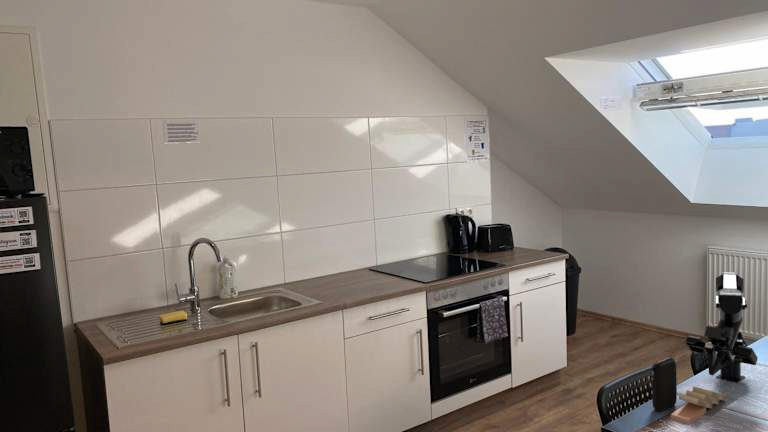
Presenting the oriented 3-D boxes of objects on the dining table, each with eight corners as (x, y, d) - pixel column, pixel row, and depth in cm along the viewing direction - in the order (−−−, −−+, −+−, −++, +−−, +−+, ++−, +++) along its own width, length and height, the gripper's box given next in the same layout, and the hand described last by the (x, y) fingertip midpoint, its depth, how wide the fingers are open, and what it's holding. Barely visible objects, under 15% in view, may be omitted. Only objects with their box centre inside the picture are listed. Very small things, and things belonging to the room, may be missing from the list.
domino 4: (708, 390, 180) (693, 386, 174) (725, 395, 176) (711, 390, 170) (707, 396, 179) (692, 391, 174) (724, 400, 175) (710, 396, 170)
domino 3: (701, 394, 177) (686, 389, 171) (719, 399, 173) (704, 394, 167) (700, 399, 177) (685, 395, 171) (718, 404, 173) (703, 400, 167)
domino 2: (688, 402, 172) (670, 414, 166) (706, 407, 168) (688, 419, 162) (688, 407, 173) (670, 419, 167) (706, 412, 169) (689, 425, 163)
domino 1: (695, 398, 175) (679, 393, 169) (713, 403, 171) (697, 398, 165) (694, 403, 175) (678, 399, 169) (711, 408, 171) (696, 404, 165)
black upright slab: (657, 416, 169) (656, 366, 168) (647, 412, 172) (646, 363, 170) (679, 406, 175) (678, 357, 173) (669, 402, 177) (668, 354, 176)
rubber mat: (706, 391, 183) (706, 390, 183) (737, 400, 176) (737, 398, 176) (678, 408, 173) (678, 407, 173) (711, 418, 166) (711, 416, 166)
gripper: (686, 309, 184) (669, 353, 178) (753, 320, 169) (736, 368, 163) (699, 329, 189) (682, 371, 184) (764, 341, 174) (748, 388, 169)
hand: (710, 374), depth 175 cm, fingers closed
